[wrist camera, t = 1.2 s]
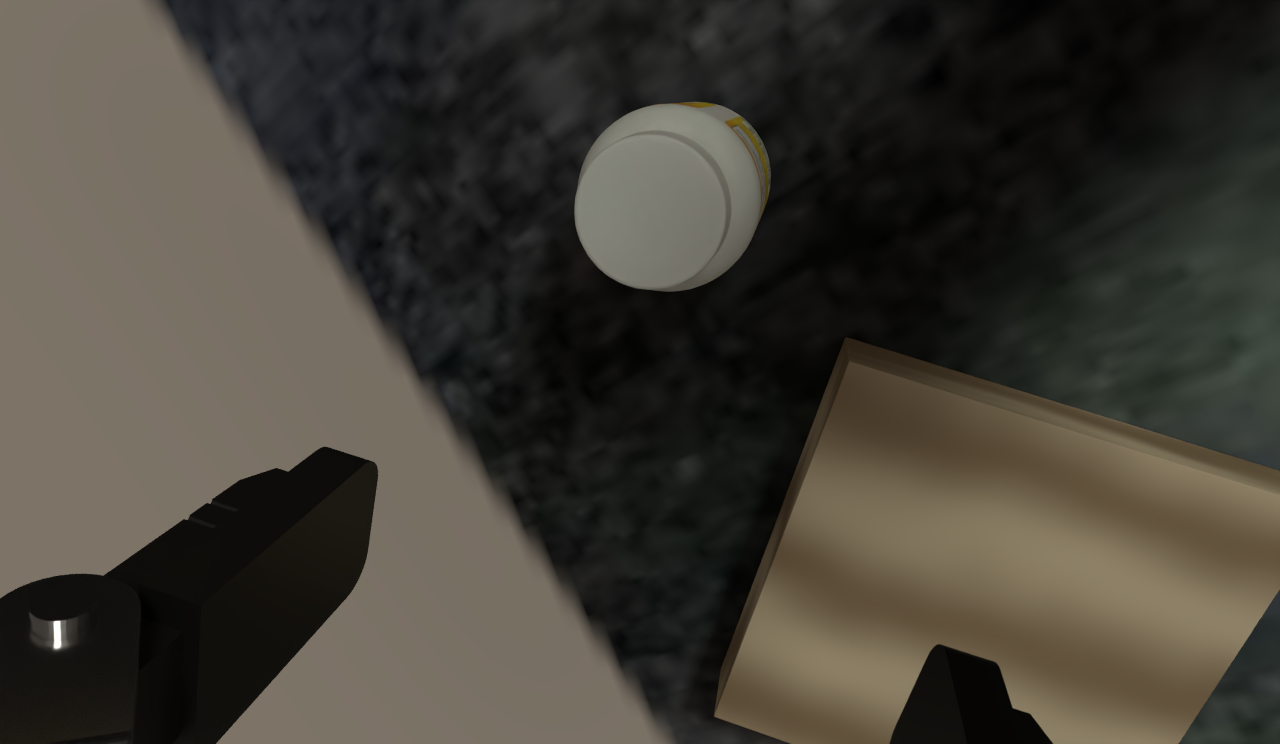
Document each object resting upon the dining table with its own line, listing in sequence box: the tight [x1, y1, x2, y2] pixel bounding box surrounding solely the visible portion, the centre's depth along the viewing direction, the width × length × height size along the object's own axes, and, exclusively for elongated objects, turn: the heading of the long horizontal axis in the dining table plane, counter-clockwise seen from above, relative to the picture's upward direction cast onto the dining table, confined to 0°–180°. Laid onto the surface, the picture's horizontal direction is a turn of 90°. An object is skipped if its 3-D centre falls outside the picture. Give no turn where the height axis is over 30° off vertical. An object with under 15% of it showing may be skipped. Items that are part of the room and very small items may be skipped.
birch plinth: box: [714, 337, 1280, 744], centre depth 32 cm, size 16×16×3 cm
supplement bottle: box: [574, 102, 771, 292], centre depth 26 cm, size 5×5×10 cm
